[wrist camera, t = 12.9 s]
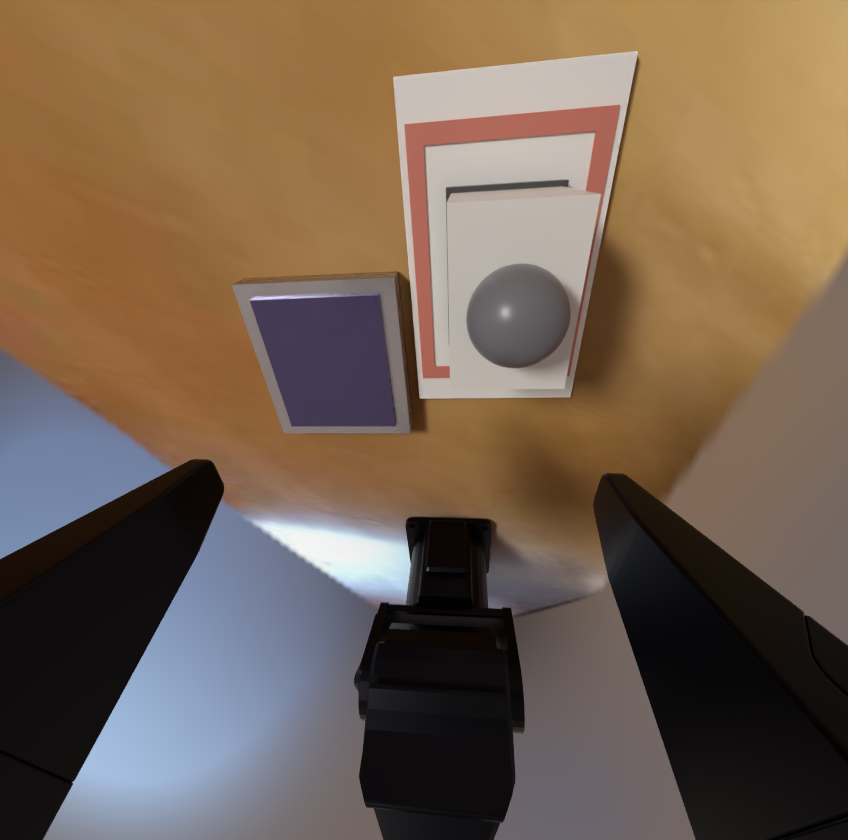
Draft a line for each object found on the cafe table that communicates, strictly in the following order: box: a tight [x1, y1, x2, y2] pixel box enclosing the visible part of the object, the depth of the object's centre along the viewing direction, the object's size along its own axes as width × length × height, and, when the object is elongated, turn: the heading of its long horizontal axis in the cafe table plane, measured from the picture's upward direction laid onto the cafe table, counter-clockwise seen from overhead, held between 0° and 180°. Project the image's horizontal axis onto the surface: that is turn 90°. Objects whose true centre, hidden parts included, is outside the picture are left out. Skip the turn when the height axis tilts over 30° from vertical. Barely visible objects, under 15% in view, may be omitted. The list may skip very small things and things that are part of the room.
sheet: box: [393, 51, 638, 399], centre depth 17 cm, size 14×9×1 cm, turn 4°
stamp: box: [446, 179, 601, 390], centre depth 14 cm, size 5×7×8 cm
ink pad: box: [232, 271, 413, 433], centre depth 20 cm, size 9×8×2 cm
